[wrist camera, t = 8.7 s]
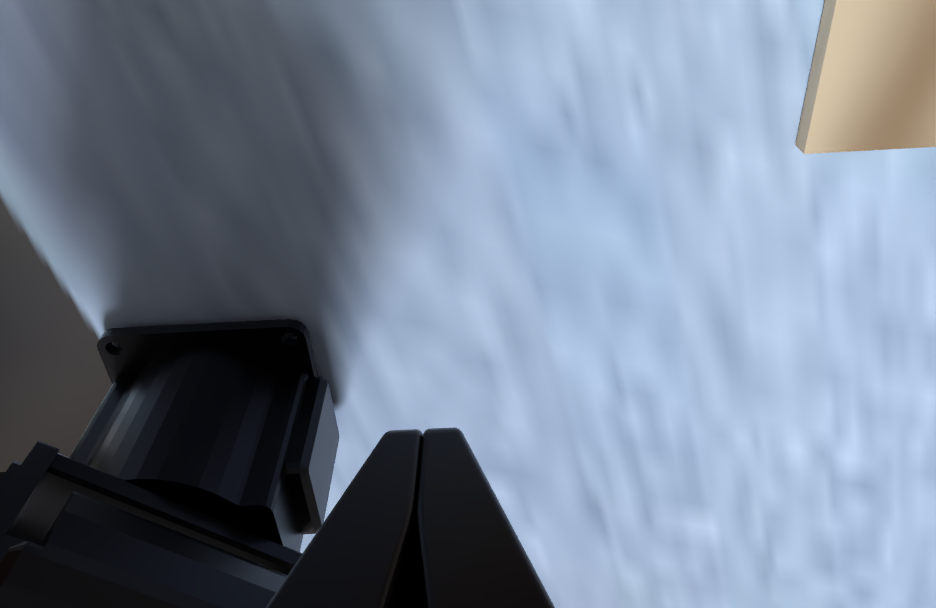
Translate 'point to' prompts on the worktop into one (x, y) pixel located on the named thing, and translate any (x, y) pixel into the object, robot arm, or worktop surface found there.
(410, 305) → the worktop surface
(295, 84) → the worktop surface
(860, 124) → the serving board
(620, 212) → the worktop surface
